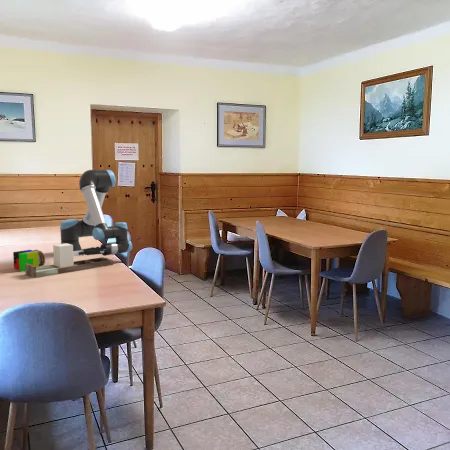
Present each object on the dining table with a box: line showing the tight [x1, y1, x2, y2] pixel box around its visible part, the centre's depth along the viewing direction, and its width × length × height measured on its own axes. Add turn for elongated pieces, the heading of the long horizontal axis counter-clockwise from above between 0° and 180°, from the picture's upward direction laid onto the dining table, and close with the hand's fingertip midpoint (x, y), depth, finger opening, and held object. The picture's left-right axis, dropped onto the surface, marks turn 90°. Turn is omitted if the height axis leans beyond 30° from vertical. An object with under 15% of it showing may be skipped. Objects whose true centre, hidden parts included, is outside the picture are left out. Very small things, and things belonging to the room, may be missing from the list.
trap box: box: [25, 256, 114, 279], centre depth 266 cm, size 12×48×6 cm, turn 135°
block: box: [52, 243, 75, 268], centre depth 262 cm, size 8×8×12 cm
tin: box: [33, 249, 46, 266], centre depth 280 cm, size 15×3×8 cm, turn 44°
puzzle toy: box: [12, 249, 40, 272], centre depth 267 cm, size 10×10×10 cm
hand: (72, 254), depth 266 cm, fingers closed
